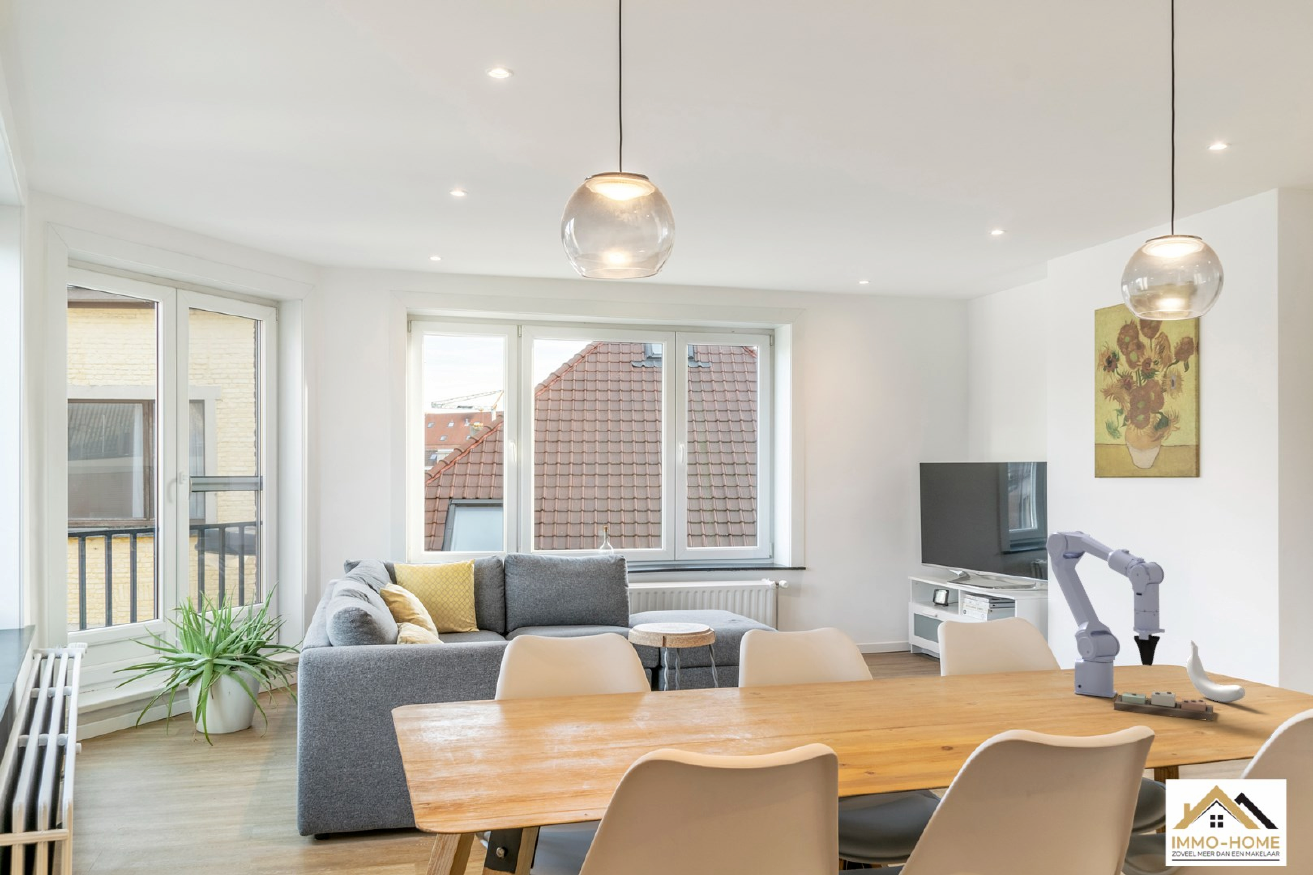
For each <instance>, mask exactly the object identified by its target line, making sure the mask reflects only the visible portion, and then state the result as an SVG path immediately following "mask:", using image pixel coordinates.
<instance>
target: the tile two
mask: <svg viewBox="0 0 1313 875" xmlns="http://www.w3.org/2000/svg"><path fill="white" fill-rule="evenodd" d="M1150 698H1151V704H1153V705H1162V706H1170V707H1175V703H1176V698H1177V697H1176V693H1175V692H1172V691H1171V692H1170V691H1157V690H1153V691H1152V692H1151V694H1150Z"/></svg>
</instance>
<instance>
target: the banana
mask: <svg viewBox="0 0 1313 875" xmlns="http://www.w3.org/2000/svg"><path fill="white" fill-rule="evenodd" d="M1190 646H1191V654H1190V655H1189V656H1188V658H1187V659H1186V664H1185V666H1186V671H1187V675H1188V678H1189V679H1190V682H1191V684H1192V685H1193V686H1194V688H1195V689H1196V690H1197V691H1198V692H1199V693H1200V694H1201V695H1203V696H1204V697H1205V698H1207V699H1209V700H1212V701H1213V700H1214V702H1217V701H1218V702H1219V703H1232V702H1236V701H1239V700H1242V699H1243V698H1244V697H1245V696H1246V690H1245V688H1243V687H1242V686H1241V685H1238V684H1233V685H1232V684H1231V685H1224V684H1223V685H1222V684H1219V683H1216V682H1214V681H1213V680H1212V679H1210V677H1209V676H1207V673H1206V672H1205V669H1204V667H1203V663H1202V661H1201V658H1200V656H1199V651H1198V650H1199V646H1197V644H1196V643H1195V642H1194V641H1193V640H1190ZM1218 702H1217V703H1218Z"/></svg>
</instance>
